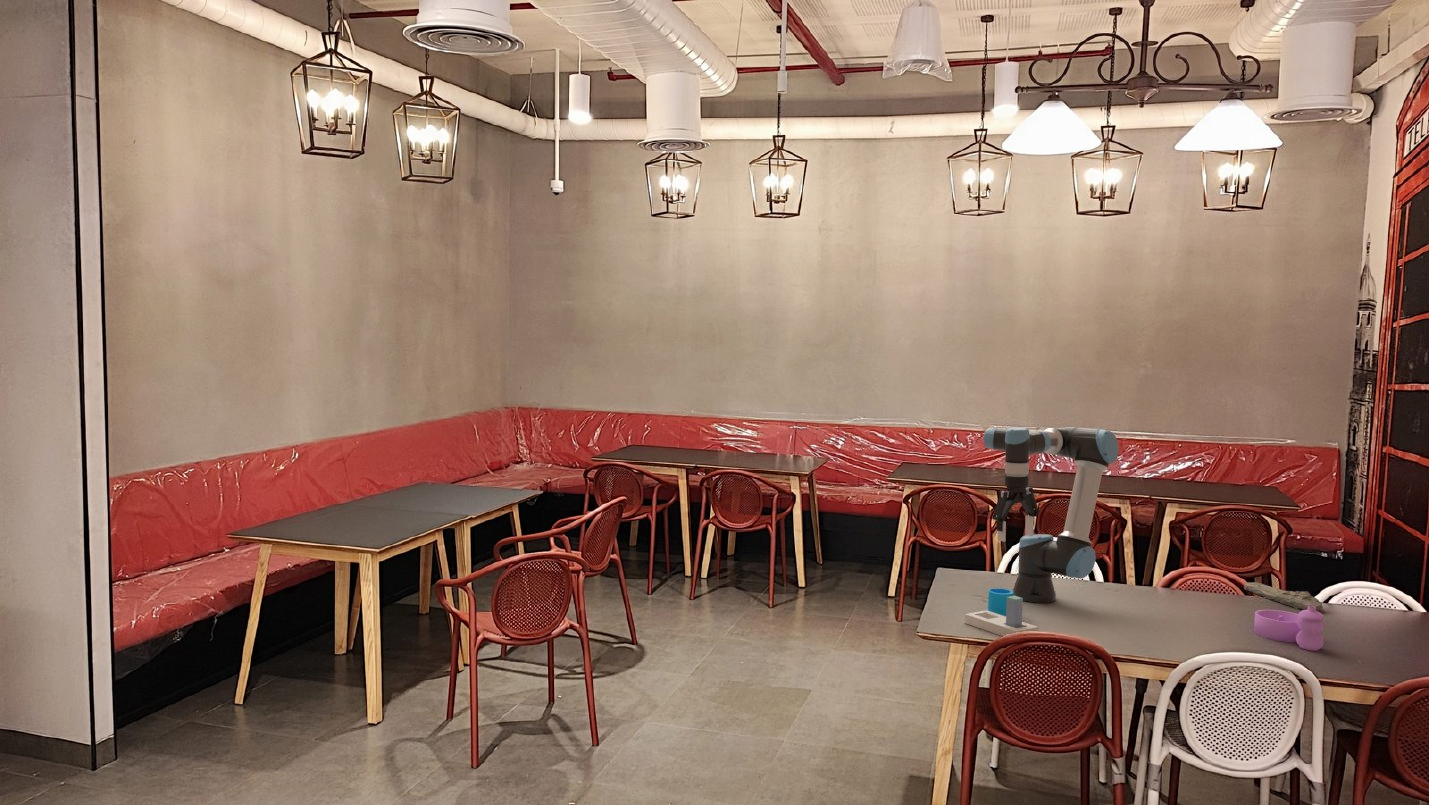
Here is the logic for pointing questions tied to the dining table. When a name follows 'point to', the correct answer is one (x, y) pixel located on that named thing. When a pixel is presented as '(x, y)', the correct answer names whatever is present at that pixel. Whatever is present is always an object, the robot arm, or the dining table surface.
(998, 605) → the mug
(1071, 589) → the dining table surface
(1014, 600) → the plug
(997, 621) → the port panel
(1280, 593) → the long grey stone
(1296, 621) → the container set
